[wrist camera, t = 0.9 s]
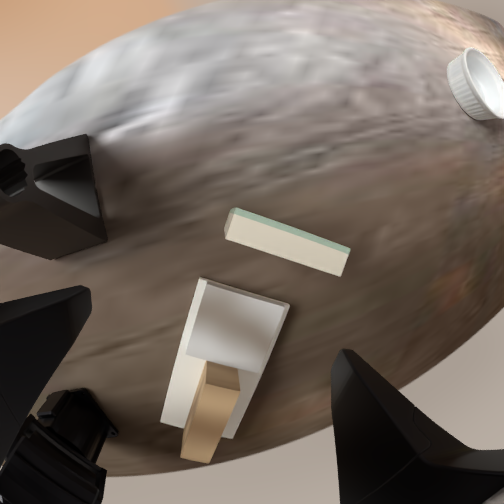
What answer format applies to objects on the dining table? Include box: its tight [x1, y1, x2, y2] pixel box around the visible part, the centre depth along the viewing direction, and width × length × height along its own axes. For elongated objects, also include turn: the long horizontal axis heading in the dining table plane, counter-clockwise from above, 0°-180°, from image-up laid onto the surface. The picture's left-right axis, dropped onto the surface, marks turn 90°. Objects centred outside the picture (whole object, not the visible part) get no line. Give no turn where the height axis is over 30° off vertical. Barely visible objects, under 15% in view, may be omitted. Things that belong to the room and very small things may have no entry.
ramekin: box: [447, 47, 504, 120], centre depth 19 cm, size 9×9×4 cm
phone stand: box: [0, 134, 107, 260], centre depth 13 cm, size 9×6×12 cm, turn 13°
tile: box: [224, 208, 350, 277], centre depth 17 cm, size 2×6×8 cm, turn 71°
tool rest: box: [160, 277, 290, 439], centre depth 22 cm, size 15×7×1 cm, turn 161°
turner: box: [180, 281, 285, 463], centre depth 20 cm, size 15×6×4 cm, turn 161°
